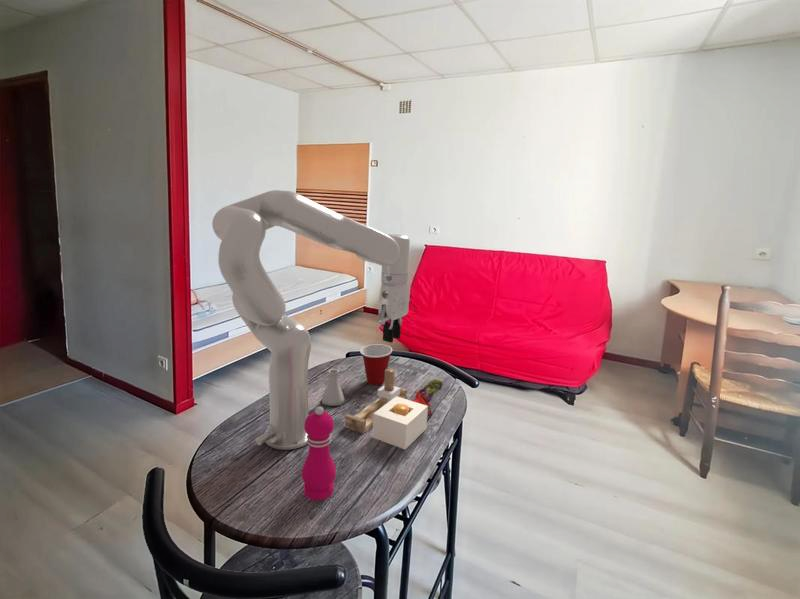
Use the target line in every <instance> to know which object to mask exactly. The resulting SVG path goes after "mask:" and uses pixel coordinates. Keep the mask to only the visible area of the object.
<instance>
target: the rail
mask: <svg viewBox="0 0 800 599" xmlns="http://www.w3.org/2000/svg"><path fill="white" fill-rule="evenodd" d="M394 386H395V387H398V388H400V394H399V395H398V397H401V398H404V399H407V398H408V396H407V395H408V394H407V393H408V389H407V388H404V387H400V386H397V385H394ZM387 401H388V399H386V398H381V399H380V400H379V398H377V399H376V400H374V401H373V402H371V403H370V404H369V405H367V406H366V407H364V408H363V409H361V410H360V411H358V412H357V413H356V414H354V415H353V414H350V413H346V414H345V415H344V428H347V429H349V430H352V431H354V432H357V433H360V434H362V435H364V434H365V433H366V432H367V431H369V430H370V429H371V428H373V413H375V412H376V411H377V410H379V409H380V408H381V407H383V406H384V405H385V404H387Z"/></svg>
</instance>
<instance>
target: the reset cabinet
mask: <svg viewBox="0 0 800 599" xmlns="http://www.w3.org/2000/svg"><path fill="white" fill-rule="evenodd" d="M396 404H405V405H407V406H408V407H409V413H408V414H407V415H406V416H402V415H399V414H396V413H394V406H395V405H396ZM428 411H429V405H428V406H426V405H423V404H420V403H417V402H413V401H411V400H410V399H407V398H406V399H404V398H401V397H397V396H396V397H395V398H393V399H392V400H391V401H389V402H388V403H387V404H385V405H384V406H383V407H381V408H380V409H379V410H377V411H376V412H375V413H373V426H372V434H371V435H372V438H373V439H375V440H379V441H381V442H384V443H387V444H389V445H391V446H395V447H397V448H399V449H402V450H406V449H407V448H409V447H410V446H411V444H413V442H415V441H416V440H417V439H418V438H419V437H420V436H421V435H422V434H424V433H423V432H425V431H426V430H427V425H428V424H427V423H428Z"/></svg>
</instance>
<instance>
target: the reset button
mask: <svg viewBox="0 0 800 599" xmlns="http://www.w3.org/2000/svg"><path fill="white" fill-rule="evenodd" d="M394 413H396V414H399V415H402V416H406V415H407V414H408V413H409V407H408V406H407V405H405V404H396V405H395V406H394Z"/></svg>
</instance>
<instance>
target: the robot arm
mask: <svg viewBox="0 0 800 599" xmlns="http://www.w3.org/2000/svg"><path fill="white" fill-rule="evenodd" d="M211 225H212V229H213V232H214V234H215V236H216V237H218V239H219V240H221V242H220V244H219V248H218V266H219V271H220V273H221V276H222V278H223V279H224V281H225V282H226V284H227V285H228V287H229V288H230V290H231V292H232V297H231V298H232V299H231V300H232V305H233V308H234V309H235V311H236V312H237V314H238V315H239V317H240V318H241V320H242V321H243V322H244V323H245V325H246V326H247V328H248V329H249V330H250V332H251V333H252V334H253V336H254V338H255V339H256V340H257V341H258V342H259V343H260V344H262V345H263V346H264V347H265V348H266V349H267V350H268V351H270V352H271V353H270V354H271V359H270V363H269V368H268V386H269V388H268V389H269V391H268V392H269V394H268V396H269V424H268V425H266V426H267V427H266V430H265V431H264V433H263V434H262V435H259V436H258V437H256V438H255V443H256V444H257V445H258V446H261V445H263V444H266V445H267V446H269V447H271V448H273V449H277V450H285V451H286V450H289V451H290V450H295V449H299V448H302V447H304V446H306V445H307V444H308V443H307V435H308V434H307V433H306V432H305V427H304V426H305V421H306V419H307V417H308V416H309V404H308V403H309V394H308V393H309V360H310V354H311V349H312V338H311V335H310V332H309V331H308V329H307V328H306V327H305V326H304V325H303V324H302V323H300V322H299V321H297V320H295V319H294V318H292V317H290V316H288V315H287V314H286V308H287V307H286V300H285V299H284V297H283V295H282V293H281V292H280V290H279V289H278V288H277V286H276V285H275V284H274V282H273V281H272V278H271V277H270V276H269V274H268V273H267V271H266V270H265V267H264V266H263V264H262V261H261V259H260V258H261V257H260V252H261V248H262V245H263V242H264V240H265V238H266V234H267V230H269V229H272V228H273V227H280V228H283V229H286V230H288V231H291V232H293V233H295V234H298V235H301V236H302V237H305V238H307V239H310V240H311V241H314V242H317V243H319V244H321V245H323V246H327V247H329V248H333V249H336V250H339V251H340V250H341V251H344V252H348V253H351V254H354V255H355V256H356V257H358V258H359V259H360V260H362V261H365V262H369V263H372V264H376V265H379V266H381V274H380V275H381V277H380V279H381V280H380V283H381V285H380V291H379V297H378V298H379V299H378V323H379V324H381V325H382V329H383V330H382V341H384V342H386V343H387V342H388V343H391V344H392V343H393V342H394V339H400V338H401V331H402V327H401V326H402V324H403V318H404V316H407V314H408V313H409V308H410V306H409V305H410V304H409V303H410V301H409V300H410V298H409V296H410V293H409V282H408V278H409V277H408V276H409V260H410V245H411V244H410V242H411V241H410V238H409V237H408V236H407V235H405V234H399V233H398V234H396V233H392V234H391V233H389V234H386V233H384V232H381V231H379V230H377V229H375V228H373V227H372V226H368V225H366V224H364V223H361V222H359V221H357V220H354V219H352V218H350V217H348V216H345V215H343V214H341V213H338V212H336V211H334V210H332V209H330V208H328V207H326V206H323V205H322V204H321V203H317V202H316V201H313V200H312V199H310V198H308V197H306V196H303V195H302V194H299V193H296V192H293V191H290V190H279V189H277V190H276V189H274V190H269V191H265V192H262V193H260V194H258V195H257V194H256V195H255V196H252V197H249V198H246V199H243V200H240V201H238V202H235V203H231V204H228V205H225V206H223V207H222V208H220V209H218V211H216V213H215V214H214V216H213V219H212V223H211ZM308 445H309V444H308Z"/></svg>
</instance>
